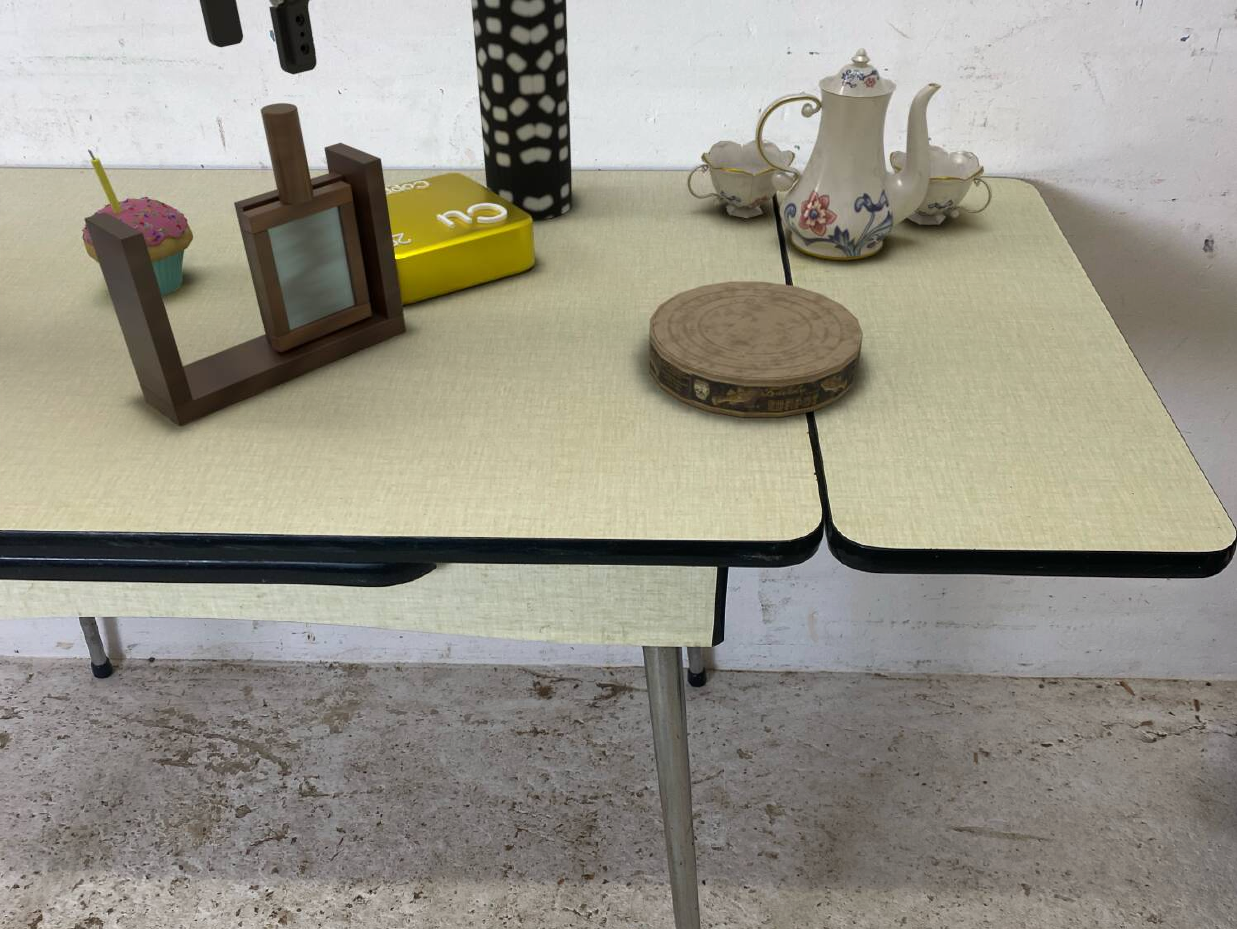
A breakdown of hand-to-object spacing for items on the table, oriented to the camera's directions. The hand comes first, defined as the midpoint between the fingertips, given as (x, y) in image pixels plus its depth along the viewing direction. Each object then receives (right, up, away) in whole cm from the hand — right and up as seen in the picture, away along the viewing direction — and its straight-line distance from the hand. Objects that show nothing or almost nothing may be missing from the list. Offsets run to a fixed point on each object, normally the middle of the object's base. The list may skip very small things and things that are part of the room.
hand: (262, 57), depth 70 cm
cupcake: (-17, -8, +24) cm, 30 cm away
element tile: (+6, -4, +28) cm, 28 cm away
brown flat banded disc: (+33, -17, +13) cm, 40 cm away
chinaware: (+44, 0, +32) cm, 54 cm away
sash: (0, -14, +13) cm, 19 cm away
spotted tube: (+14, +5, +37) cm, 40 cm away
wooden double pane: (-3, -17, +13) cm, 21 cm away
